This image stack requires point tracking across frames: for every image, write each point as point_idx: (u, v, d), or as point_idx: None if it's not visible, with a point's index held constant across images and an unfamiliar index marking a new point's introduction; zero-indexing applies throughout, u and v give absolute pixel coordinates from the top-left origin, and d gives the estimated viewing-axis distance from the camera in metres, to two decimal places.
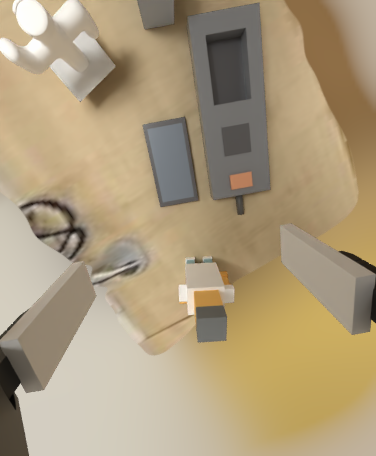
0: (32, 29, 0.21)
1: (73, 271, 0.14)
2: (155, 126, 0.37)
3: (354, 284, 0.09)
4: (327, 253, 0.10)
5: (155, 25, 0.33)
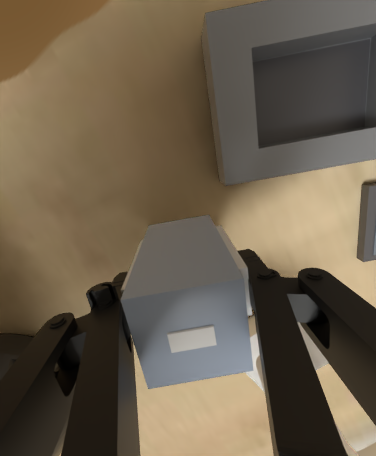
0: None
1: None
2: (372, 240, 0.20)
3: None
4: None
5: None
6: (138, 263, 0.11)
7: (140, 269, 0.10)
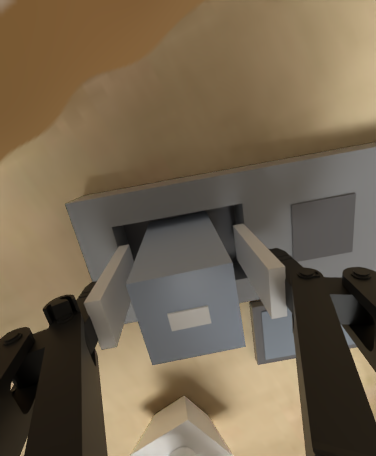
0: None
1: (122, 251, 0.15)
2: (262, 348, 0.22)
3: (268, 275, 0.10)
4: (258, 249, 0.12)
5: None
6: (140, 254, 0.12)
7: (142, 259, 0.11)
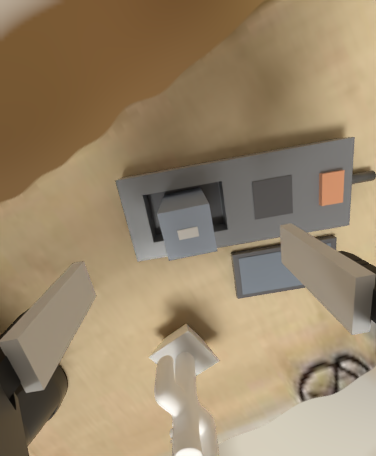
0: None
1: (73, 270, 0.14)
2: (240, 286, 0.32)
3: (354, 284, 0.09)
4: (327, 253, 0.10)
5: None
6: (162, 206, 0.22)
7: (163, 207, 0.21)
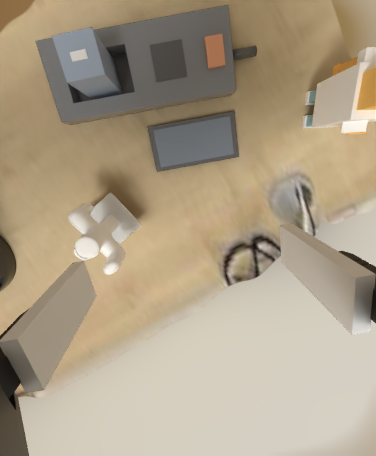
0: (95, 248, 0.27)
1: (73, 271, 0.14)
2: (158, 158, 0.38)
3: (354, 284, 0.09)
4: (327, 253, 0.10)
5: (118, 79, 0.34)
6: None
7: None
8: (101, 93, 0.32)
